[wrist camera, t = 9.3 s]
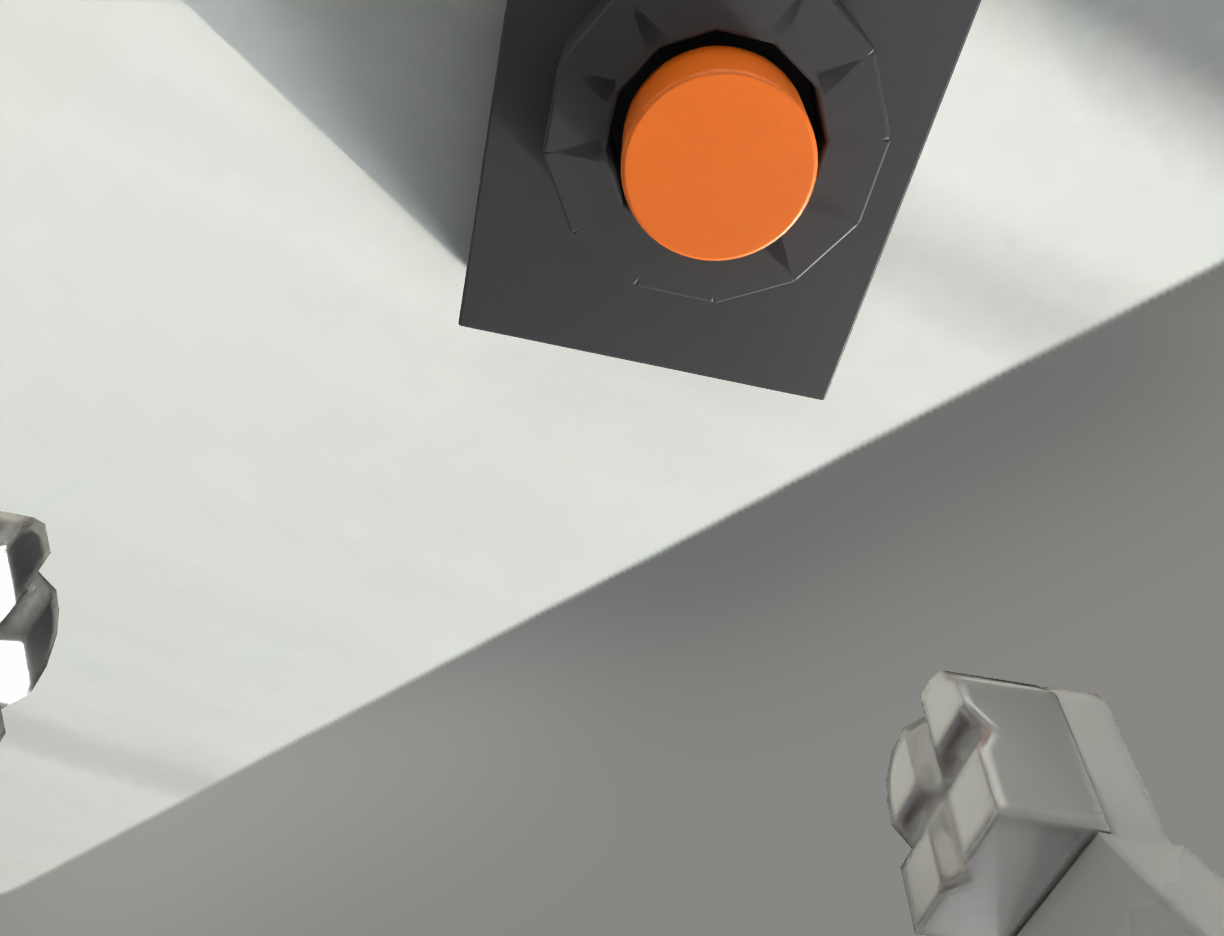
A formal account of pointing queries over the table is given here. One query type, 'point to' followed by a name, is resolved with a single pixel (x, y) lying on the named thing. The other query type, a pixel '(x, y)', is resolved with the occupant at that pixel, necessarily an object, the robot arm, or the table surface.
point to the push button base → (626, 254)
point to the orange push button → (717, 154)
